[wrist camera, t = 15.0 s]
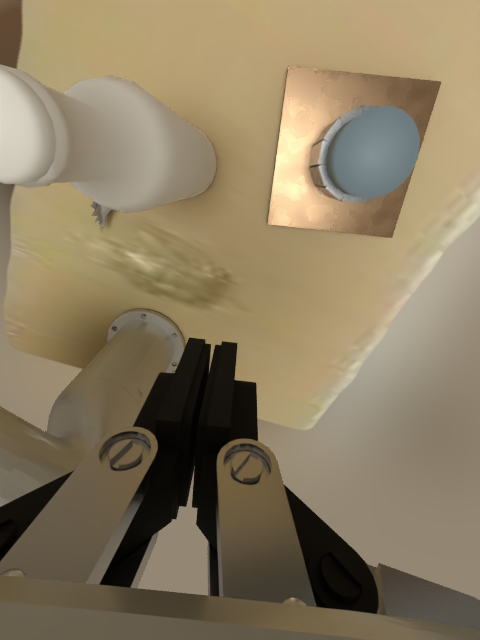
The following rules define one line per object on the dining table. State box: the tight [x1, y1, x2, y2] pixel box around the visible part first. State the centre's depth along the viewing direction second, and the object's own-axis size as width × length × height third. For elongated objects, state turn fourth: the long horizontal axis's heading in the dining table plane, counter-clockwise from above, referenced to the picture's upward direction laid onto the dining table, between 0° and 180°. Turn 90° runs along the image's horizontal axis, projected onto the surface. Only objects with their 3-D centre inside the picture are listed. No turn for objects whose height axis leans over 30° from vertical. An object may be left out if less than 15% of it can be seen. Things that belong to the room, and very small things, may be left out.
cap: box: [326, 106, 420, 198], centre depth 29 cm, size 7×7×8 cm
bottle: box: [0, 65, 217, 213], centre depth 23 cm, size 8×8×30 cm
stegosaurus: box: [91, 201, 112, 233], centre depth 38 cm, size 2×7×5 cm, turn 162°
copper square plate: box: [267, 66, 441, 238], centre depth 32 cm, size 16×16×8 cm
